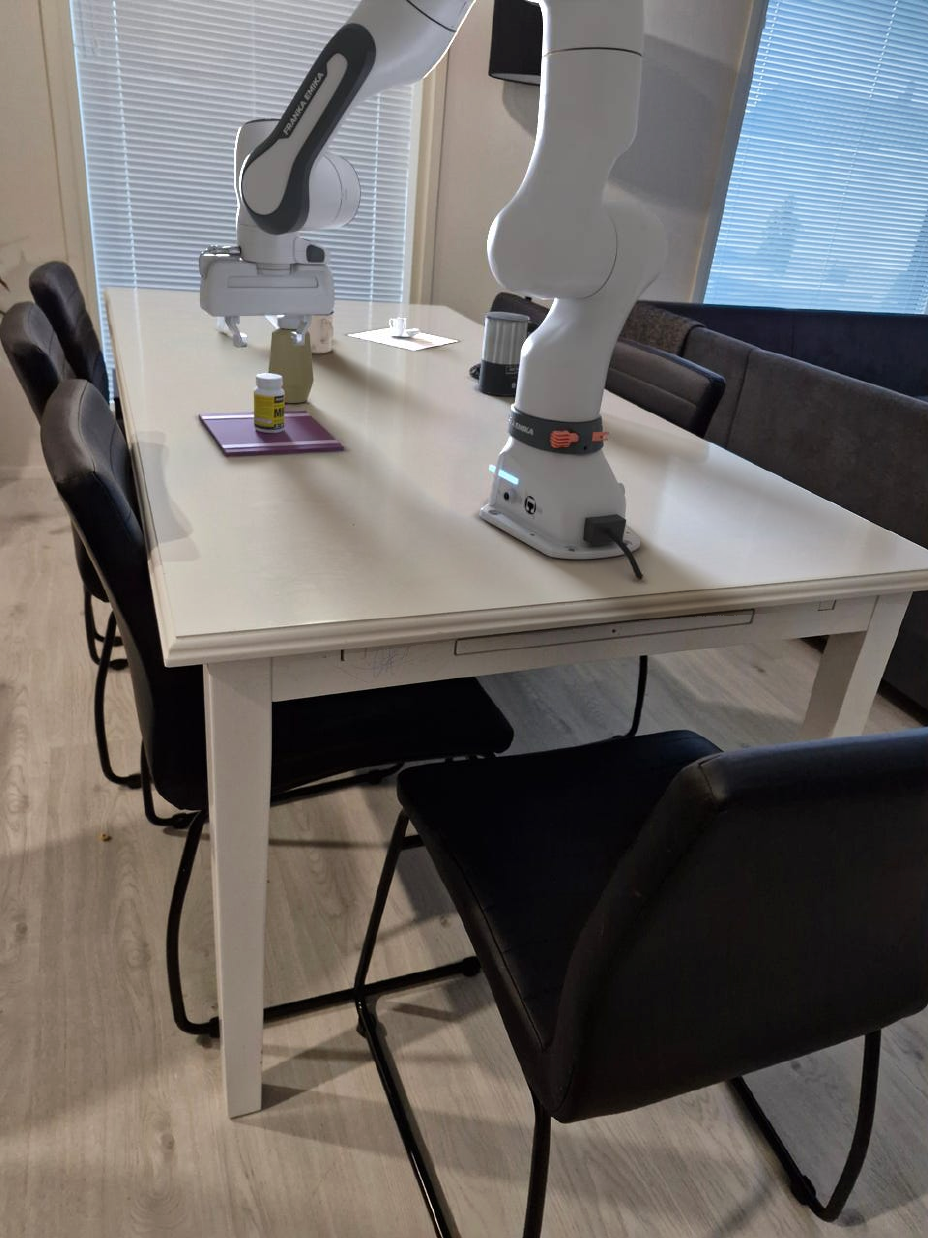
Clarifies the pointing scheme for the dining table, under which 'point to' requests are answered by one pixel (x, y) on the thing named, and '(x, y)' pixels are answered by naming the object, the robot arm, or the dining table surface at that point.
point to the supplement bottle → (269, 403)
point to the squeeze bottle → (291, 360)
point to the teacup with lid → (321, 333)
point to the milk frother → (502, 352)
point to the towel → (268, 434)
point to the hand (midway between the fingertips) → (269, 345)
